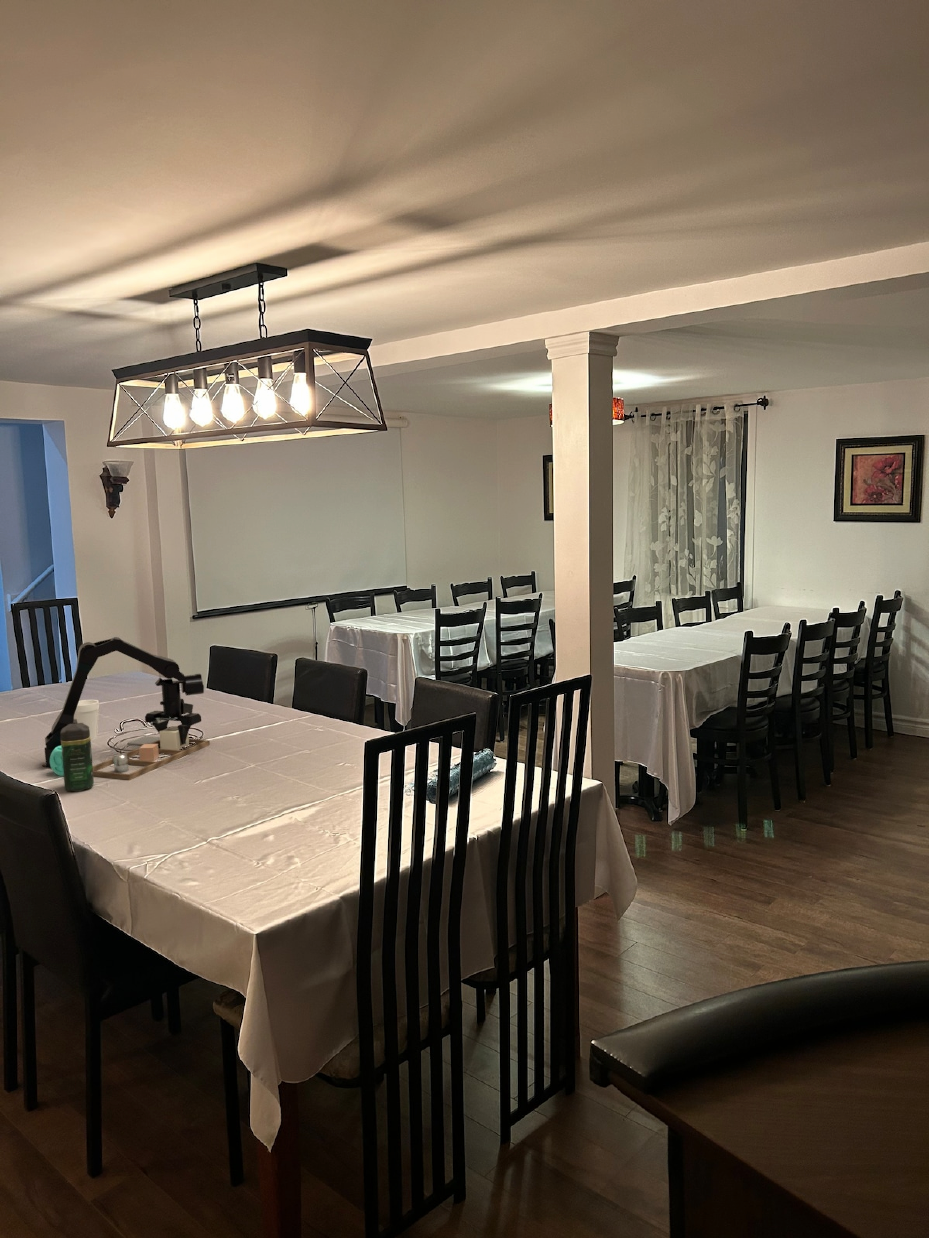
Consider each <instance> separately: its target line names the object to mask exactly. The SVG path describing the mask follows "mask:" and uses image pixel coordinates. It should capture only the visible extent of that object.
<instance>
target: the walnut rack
mask: <svg viewBox="0 0 929 1238" xmlns="http://www.w3.org/2000/svg"><path fill="white" fill-rule="evenodd" d="M189 742H195V743H196V744H194V745H193V746H191V747H187V748H185V750H184V749H183V750H170V749H161V748H158V752H159V753H164V754H163V755H167V754H172V755H169V756H168V757H166V758H163V759H161V760H157V761H142V760H140V759H131V757H133V756H136V755H138V754H137V753H139V748H140V747H138V748H136V749H132V750H131V751H127V752H125V754H127V758H128V766H137V767H138V766H139V767H142V768H140V769H138V770H137V769H136V770H135V771H133V772H131V773H115V772H113V771H111V772H110V771H99V770H102V769H104V768H106V767H109V766H111V765H114V758H113V757H112V758H110V759H107V760H105V761H103V762H100V763H97V764H94V765H93V777H95V778H96V777H98V778H106V779H118V780H126V781H130V780H132V779H135V778H138V777H139V776H142V775H145V774H146V773H149V772H151V771H153V770H155V769H158V768H160V767H164V765H167V764H170V763H171V762H172V763H173V762H174V761H176V760H178V759H181V758H183V757H185V756H188V755H189V754H191V753H194V752H197V751H198V750H201V749H203V748H206V747H208V746H210V744H211V743H210V740H206V739H194V738H189ZM150 744H158V745H159V746H160V740H158V741H155V742H153V743H150ZM129 758H130V759H129Z"/></svg>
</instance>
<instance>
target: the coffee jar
mask: <svg viewBox="0 0 929 1238" xmlns="http://www.w3.org/2000/svg"><path fill="white" fill-rule="evenodd" d="M60 735H61V748H62V760H63V771H64V776H63V785H64V790H65V791H67V792H69V791H71V792H81V791H84V790H88V789H91V788H92V787H93V785H94V776H93V766H94V765H93V754H92V742H91V741H92V740H91V739H90V730H89V726H87V725H85V724H83V723H74V724H68V725H67V726H66V727H64V728H63V729H62V730H61V733H60Z"/></svg>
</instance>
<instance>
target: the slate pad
mask: <svg viewBox="0 0 929 1238" xmlns="http://www.w3.org/2000/svg"><path fill="white" fill-rule="evenodd" d="M158 740H160V736H150V735H148V736H147V735H144V736H141V737H139V738H136V739H135V740H132V741H131V740H130V741H129V742H128V741H127V744H126V745H129V746H139V747H141V746H142V745H144V744H150V743H153V742H155V741H158Z"/></svg>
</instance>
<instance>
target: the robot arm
mask: <svg viewBox="0 0 929 1238" xmlns="http://www.w3.org/2000/svg"><path fill="white" fill-rule="evenodd" d="M113 652H119V653H121V654H123V655H125V656H128V657H129V658H132V659H133V660H136V661H138V662H140V663H142V664H144V665H146V666H149V667H150V668H151V669H153V670H154V671H155V672H157V673H158V674H159V675H162V676H163V677H164V678H166V679H163V678H161V677H159V678H158V679H157V680H156V681H155V682H154V685H156V687H161V696H162V697H161V698H162V700H161V701H160V702H159V705H161V706H162V710H154V711H150V712H148V713H146V715H145V716H144V721H145V723H150V724H151V726H153V727H154V728H155V729H156V732H158V733H159V731H162V730H164V729H167V728H168V724H169V722H171V721H173V722H174V721H175V722H180V724H179V725H177V727H178V730H179V734H180V739H181V742H182V744H185V741H186V738H187V734H189V732H190V729H191V727H192V726H194V725H196V724H198V723H201V722H202V716H201V714H200V713H197V712H196V713H195V712H193V710H194V704H191V703H188V702H187V703H186V702H185V700H184V698H182V696H181V693H182V694H184V695H185V697H186V696H194V695H203V694H204V693H205V686H204V682H203V677H202V674H201V673H195V674H188V675H185V674H184V673H183V672H181V671H180V665H179V664H178V663H177V662H176V661H175V660H174V659H171V658H168V657H164V656H161V655H160V656H159V655H156V654H153V653H151V652H148V651H147V650H144V649H143V648H140V647H138V646H136V645H133V644H132V643H130V642H127V641H125V640H123V639H121V638H120V637H118V636H114V637H111V638H109V639H104V640H99V641H96V642H90V641H88V642H83V643H82V644H81V645H80V646H79V648H78V653H77V654H78V655H77V660H76V669H75V672H74V675H73V678H72V681H71V683H70V686H69V689H68V692H67V694H66V695H67V696H66V698H65V701H64V703H63V707H62V710H61V711H60V713H59V714H58V716H57V717H56V718H55V721H54V722H53V724H52V726H51V731H50V732H49V733H48V734H47V735H46V736H45V737H44V743H45V746H46V747H44V757H45V763H43V764H42V765H41V766H42V767H44V768H51V766H50V756H51V753H52V751H53V750H54V749H55V748H56V747H58V746H61V735H60V733H61V730H62V729H63V728H64V727H66V726H67V725H68V724H74V723H78V722H77V719H74V714H75V711H76V708H77V705H78V702H79V701H80V700H81V696H82V693H83V691H84V687H85V686H86V685H85V684H86V682H87V678H88V676H89V674H90V672H91V670H92V669H93V667H95V665H96V662H97V661H98V659H99V658H100V657H105V656H106V655H109V654H111V653H113ZM173 679H175V680H173Z"/></svg>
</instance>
